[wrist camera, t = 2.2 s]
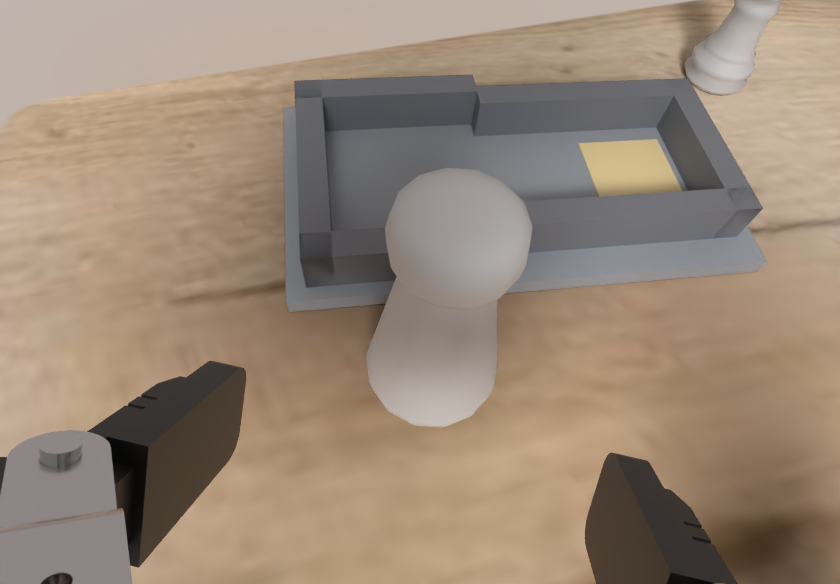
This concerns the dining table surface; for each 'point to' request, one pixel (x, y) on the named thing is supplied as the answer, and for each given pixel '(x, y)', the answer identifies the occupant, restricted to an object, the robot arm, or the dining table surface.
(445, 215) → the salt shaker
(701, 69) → the rook chess piece
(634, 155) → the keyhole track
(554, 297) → the dining table surface
